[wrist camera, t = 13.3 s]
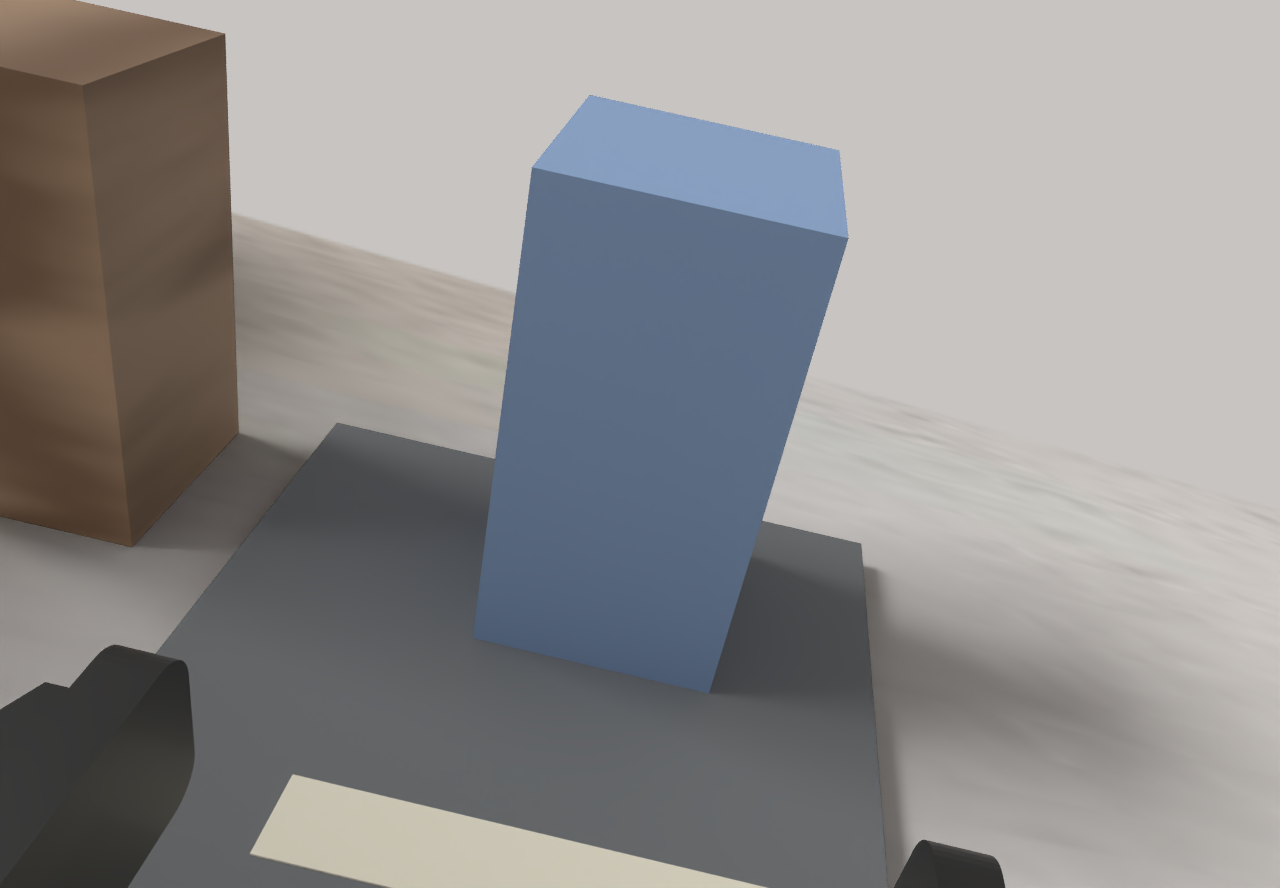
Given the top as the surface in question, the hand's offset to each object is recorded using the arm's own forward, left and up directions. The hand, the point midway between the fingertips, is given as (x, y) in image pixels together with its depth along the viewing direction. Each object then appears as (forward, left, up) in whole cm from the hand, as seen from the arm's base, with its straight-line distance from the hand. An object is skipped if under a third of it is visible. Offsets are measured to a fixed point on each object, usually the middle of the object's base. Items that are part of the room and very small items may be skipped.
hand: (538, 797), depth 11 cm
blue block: (0, +11, -6) cm, 12 cm away
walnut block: (-13, +12, -7) cm, 19 cm away
